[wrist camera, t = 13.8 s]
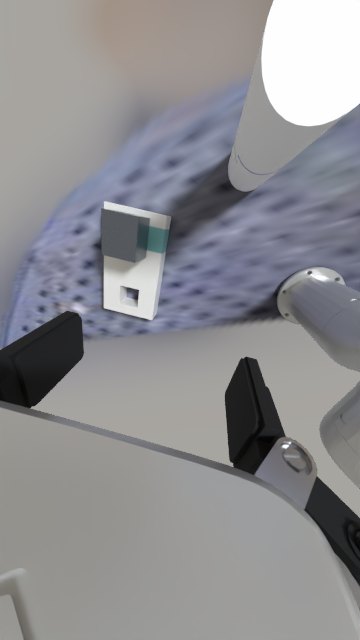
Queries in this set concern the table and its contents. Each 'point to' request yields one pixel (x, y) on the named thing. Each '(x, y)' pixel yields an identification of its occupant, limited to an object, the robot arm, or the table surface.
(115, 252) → the grey rectangular block
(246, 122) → the cylindrical container
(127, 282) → the docking board
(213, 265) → the table surface
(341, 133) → the table surface
